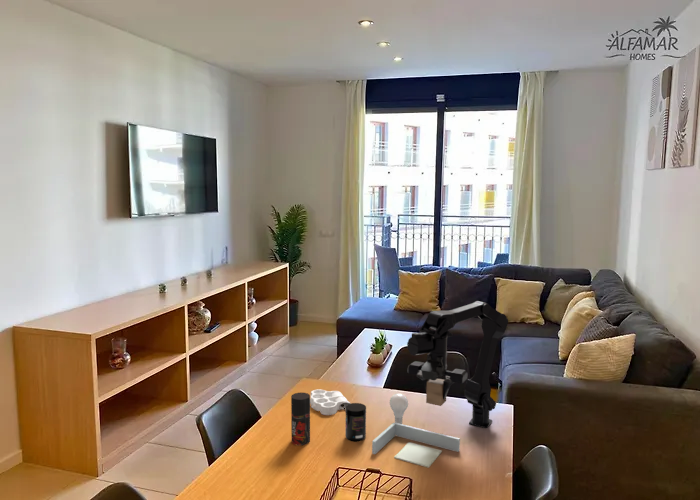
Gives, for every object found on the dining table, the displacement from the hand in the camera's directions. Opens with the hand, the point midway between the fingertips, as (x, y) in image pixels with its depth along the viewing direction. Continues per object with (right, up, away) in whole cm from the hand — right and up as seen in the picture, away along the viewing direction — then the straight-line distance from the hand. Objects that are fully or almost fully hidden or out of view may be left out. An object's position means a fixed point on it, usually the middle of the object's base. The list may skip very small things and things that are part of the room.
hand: (436, 397), depth 170 cm
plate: (-7, -14, -11) cm, 20 cm away
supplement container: (-26, -13, 0) cm, 30 cm away
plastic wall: (-8, -14, -10) cm, 19 cm away
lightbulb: (-11, -12, +9) cm, 19 cm away
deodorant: (-44, -13, -3) cm, 46 cm away
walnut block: (0, -2, 0) cm, 2 cm away
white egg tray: (-37, -11, +26) cm, 46 cm away
